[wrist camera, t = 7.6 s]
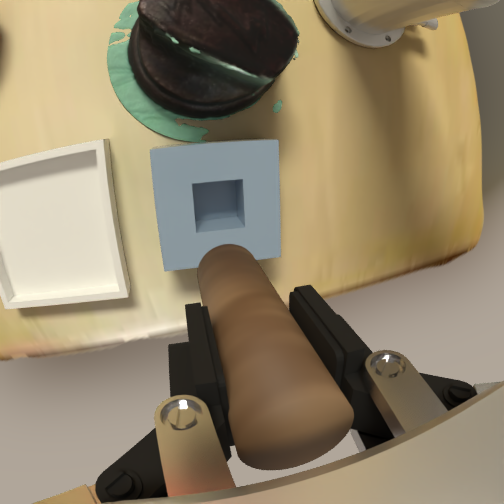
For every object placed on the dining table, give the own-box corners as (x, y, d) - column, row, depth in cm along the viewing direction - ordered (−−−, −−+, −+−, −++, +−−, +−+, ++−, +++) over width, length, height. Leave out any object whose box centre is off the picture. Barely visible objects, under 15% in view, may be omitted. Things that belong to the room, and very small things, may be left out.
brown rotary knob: (327, 19, 28) (371, -6, 20) (254, 169, 33) (282, 183, 24) (166, -50, 21) (167, -96, 13) (78, 102, 26) (44, 94, 18)
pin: (256, 240, 16) (363, 381, 7) (258, 295, 17) (344, 451, 8) (193, 248, 15) (230, 414, 6) (201, 303, 16) (241, 478, 7)
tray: (108, 138, 28) (103, 139, 26) (130, 286, 34) (128, 297, 32) (-18, 168, 25) (-29, 171, 23) (13, 299, 31) (5, 309, 29)
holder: (263, 138, 32) (278, 139, 27) (266, 240, 36) (280, 256, 31) (154, 147, 29) (149, 149, 25) (165, 252, 34) (164, 271, 29)
